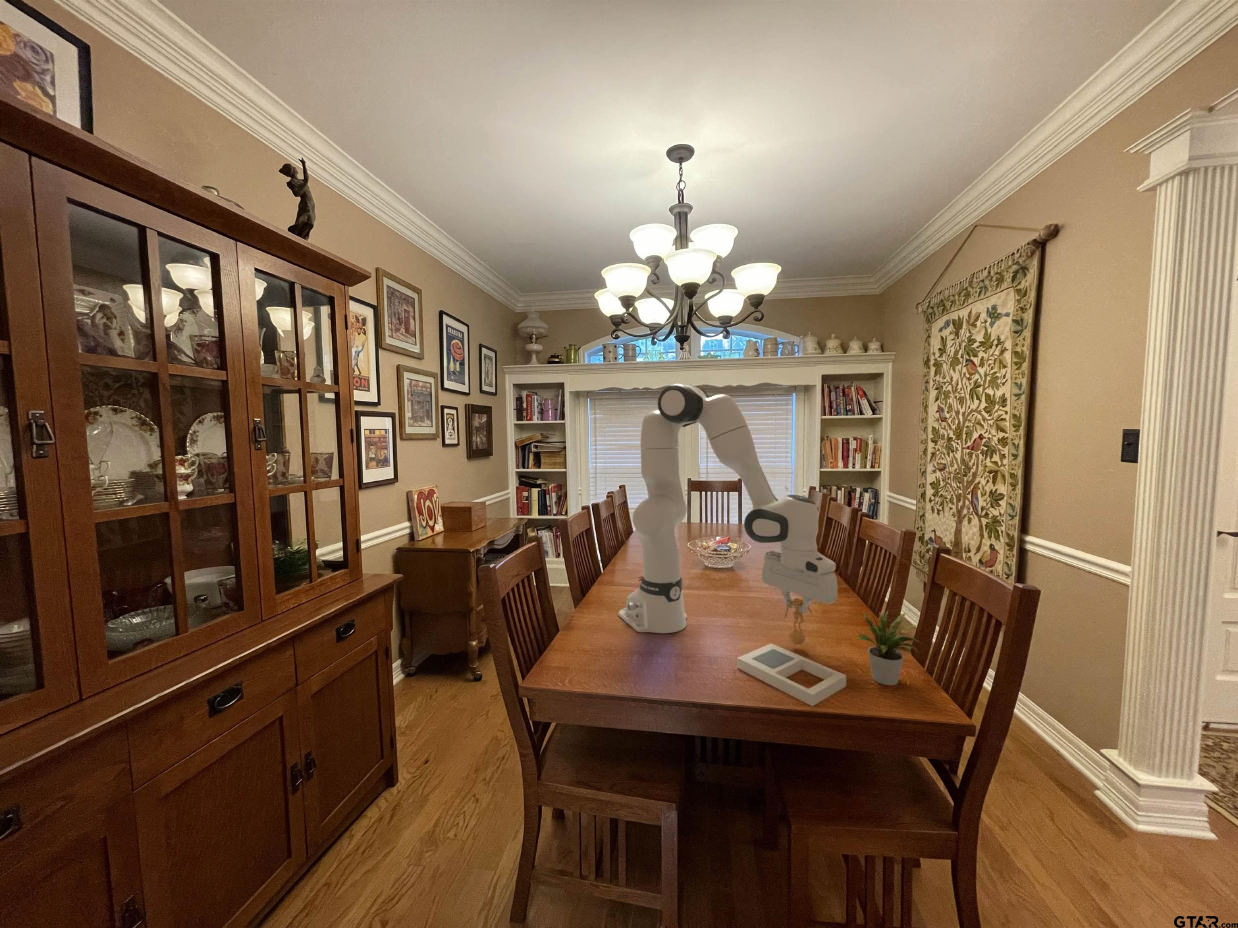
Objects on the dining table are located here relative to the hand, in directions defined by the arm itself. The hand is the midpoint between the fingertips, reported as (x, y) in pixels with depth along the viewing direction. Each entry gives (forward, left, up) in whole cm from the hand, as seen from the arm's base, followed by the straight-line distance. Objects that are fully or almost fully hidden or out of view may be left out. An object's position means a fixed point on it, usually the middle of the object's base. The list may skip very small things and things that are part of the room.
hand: (796, 609), depth 122 cm
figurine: (-1, 0, -9) cm, 9 cm away
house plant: (+21, +1, -11) cm, 23 cm away
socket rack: (+8, -14, -11) cm, 19 cm away
